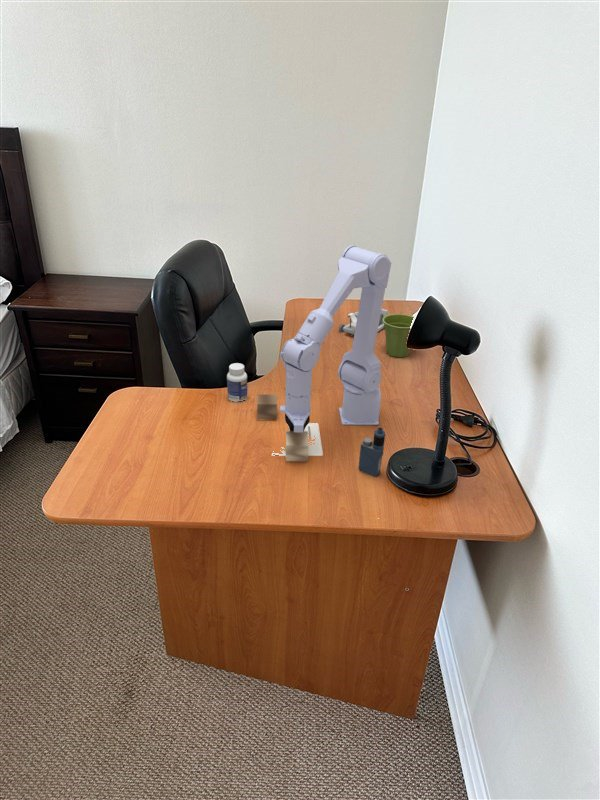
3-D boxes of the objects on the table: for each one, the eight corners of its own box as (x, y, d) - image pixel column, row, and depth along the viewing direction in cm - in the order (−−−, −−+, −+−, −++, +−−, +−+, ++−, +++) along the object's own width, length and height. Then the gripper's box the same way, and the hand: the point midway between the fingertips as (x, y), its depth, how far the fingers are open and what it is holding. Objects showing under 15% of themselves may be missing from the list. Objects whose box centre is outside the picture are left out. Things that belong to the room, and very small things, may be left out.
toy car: (365, 317, 182) (335, 308, 187) (362, 345, 186) (334, 335, 192) (392, 302, 194) (363, 294, 200) (389, 328, 199) (361, 320, 205)
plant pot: (421, 351, 182) (426, 318, 177) (407, 364, 174) (411, 330, 168) (388, 342, 188) (392, 310, 182) (372, 354, 179) (376, 321, 173)
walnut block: (276, 410, 148) (276, 394, 145) (276, 421, 144) (277, 404, 141) (257, 410, 148) (257, 394, 145) (257, 421, 143) (257, 404, 141)
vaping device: (377, 478, 124) (383, 433, 118) (356, 470, 126) (360, 425, 120) (382, 472, 126) (388, 428, 120) (361, 464, 128) (366, 420, 122)
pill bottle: (244, 404, 150) (243, 372, 145) (225, 401, 151) (223, 369, 146) (249, 394, 155) (249, 363, 150) (231, 392, 156) (230, 360, 151)
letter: (318, 423, 143) (318, 423, 143) (322, 456, 131) (322, 455, 131) (271, 423, 142) (271, 423, 142) (271, 456, 130) (271, 455, 130)
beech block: (307, 447, 133) (307, 431, 130) (307, 462, 129) (308, 445, 126) (285, 447, 133) (286, 431, 130) (285, 461, 129) (286, 445, 126)
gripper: (279, 375, 131) (278, 424, 138) (280, 407, 119) (279, 459, 126) (309, 376, 132) (307, 424, 138) (314, 407, 119) (311, 459, 126)
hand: (296, 441), depth 132 cm, fingers closed, pressing on beech block
